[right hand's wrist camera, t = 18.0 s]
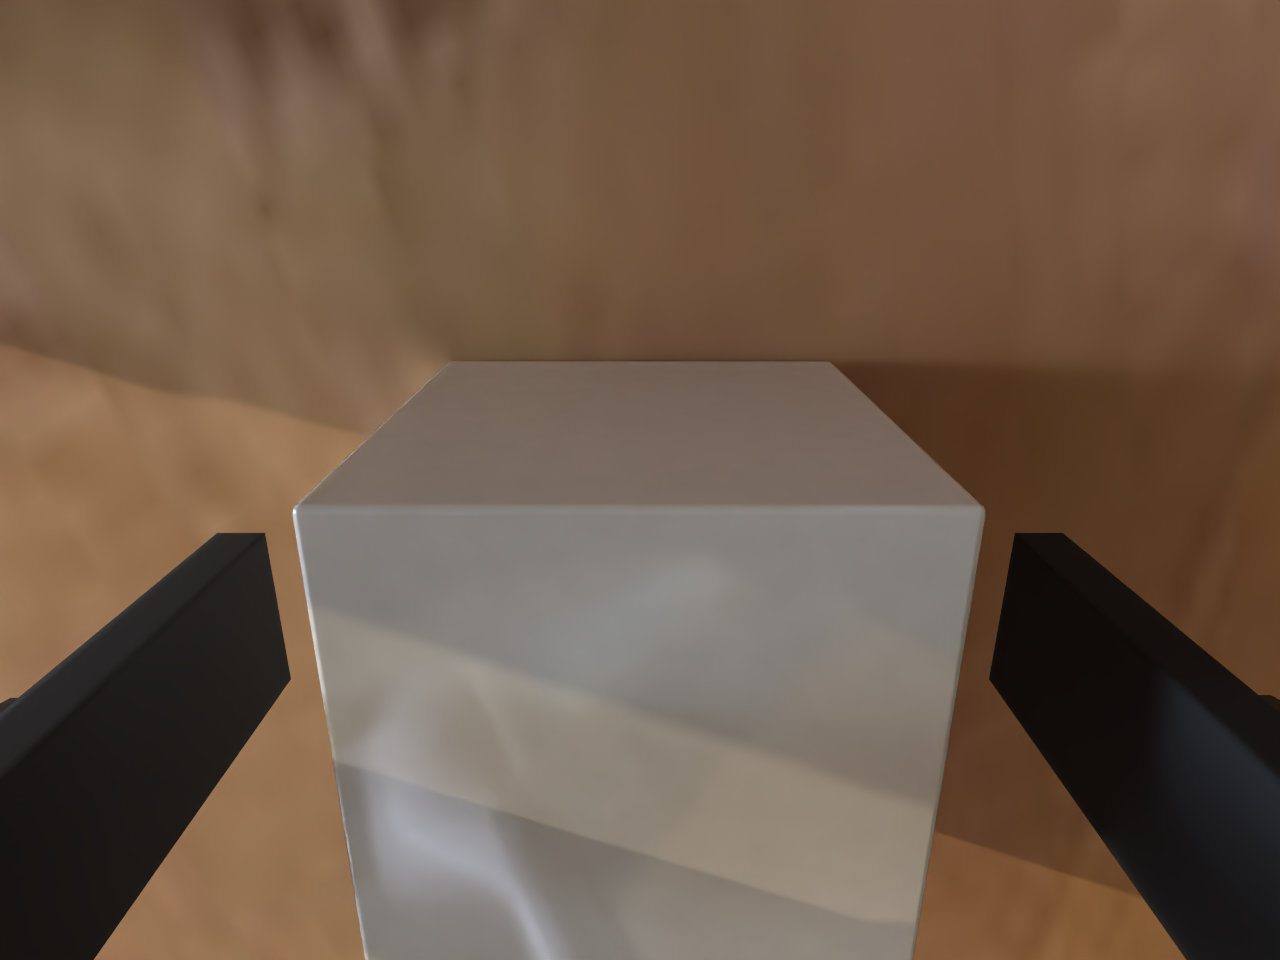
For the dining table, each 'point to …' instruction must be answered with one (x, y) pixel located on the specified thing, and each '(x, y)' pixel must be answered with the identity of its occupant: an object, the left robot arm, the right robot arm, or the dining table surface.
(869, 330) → the dining table surface
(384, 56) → the dining table surface
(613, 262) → the dining table surface
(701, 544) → the cap block
